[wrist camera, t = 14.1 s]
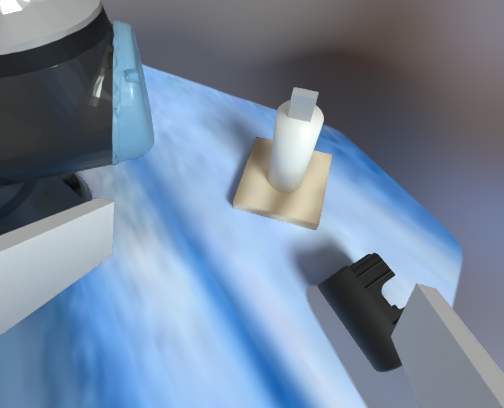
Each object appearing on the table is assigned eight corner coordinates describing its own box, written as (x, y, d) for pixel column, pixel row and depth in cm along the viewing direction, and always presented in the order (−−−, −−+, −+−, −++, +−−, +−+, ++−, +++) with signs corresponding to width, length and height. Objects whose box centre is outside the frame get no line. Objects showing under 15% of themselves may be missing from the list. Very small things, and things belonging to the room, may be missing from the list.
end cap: (310, 291, 34) (324, 279, 28) (353, 262, 36) (375, 245, 30) (364, 370, 31) (393, 376, 25) (409, 333, 32) (447, 331, 26)
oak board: (233, 208, 39) (232, 201, 38) (256, 145, 45) (256, 136, 43) (315, 230, 38) (318, 224, 36) (328, 162, 43) (332, 154, 42)
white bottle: (264, 188, 39) (273, 105, 25) (272, 160, 41) (285, 71, 27) (298, 196, 38) (327, 117, 25) (305, 168, 40) (334, 81, 27)
